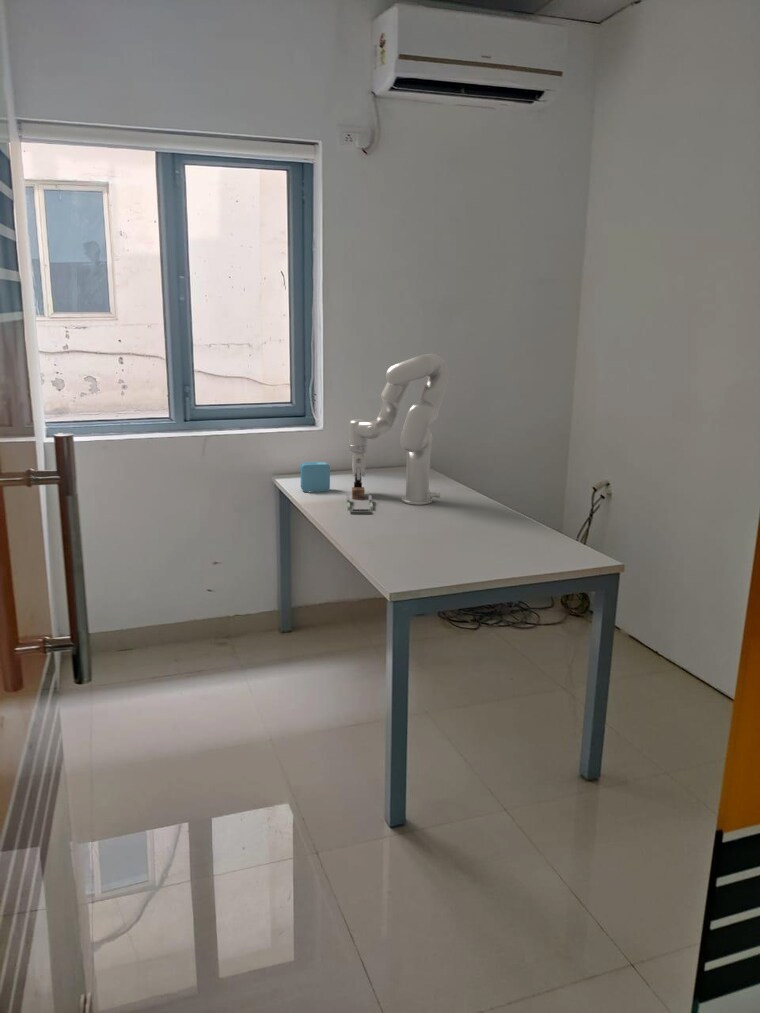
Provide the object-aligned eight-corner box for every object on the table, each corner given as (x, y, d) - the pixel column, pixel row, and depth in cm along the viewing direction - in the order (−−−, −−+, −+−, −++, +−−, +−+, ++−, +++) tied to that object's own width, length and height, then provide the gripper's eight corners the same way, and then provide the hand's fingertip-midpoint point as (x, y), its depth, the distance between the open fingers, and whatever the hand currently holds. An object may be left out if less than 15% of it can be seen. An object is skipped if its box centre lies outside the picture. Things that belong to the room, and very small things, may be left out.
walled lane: (370, 501, 320) (371, 495, 319) (371, 505, 313) (372, 499, 313) (346, 501, 319) (346, 495, 319) (347, 505, 313) (347, 499, 312)
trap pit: (370, 511, 305) (370, 509, 304) (371, 514, 301) (371, 511, 300) (350, 511, 304) (350, 509, 304) (350, 514, 300) (350, 511, 300)
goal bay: (372, 506, 312) (372, 502, 312) (372, 510, 307) (373, 506, 306) (347, 506, 312) (347, 502, 311) (347, 510, 306) (347, 506, 306)
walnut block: (363, 496, 328) (363, 487, 327) (364, 499, 323) (364, 490, 322) (351, 496, 328) (352, 487, 327) (352, 499, 323) (352, 490, 322)
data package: (328, 488, 339) (328, 461, 336) (329, 491, 335) (330, 464, 332) (300, 490, 337) (300, 462, 333) (302, 492, 332) (302, 464, 329)
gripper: (368, 452, 319) (367, 496, 324) (366, 445, 333) (365, 487, 338) (349, 452, 318) (349, 495, 323) (349, 445, 333) (348, 487, 337)
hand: (357, 491), depth 330 cm, fingers closed
